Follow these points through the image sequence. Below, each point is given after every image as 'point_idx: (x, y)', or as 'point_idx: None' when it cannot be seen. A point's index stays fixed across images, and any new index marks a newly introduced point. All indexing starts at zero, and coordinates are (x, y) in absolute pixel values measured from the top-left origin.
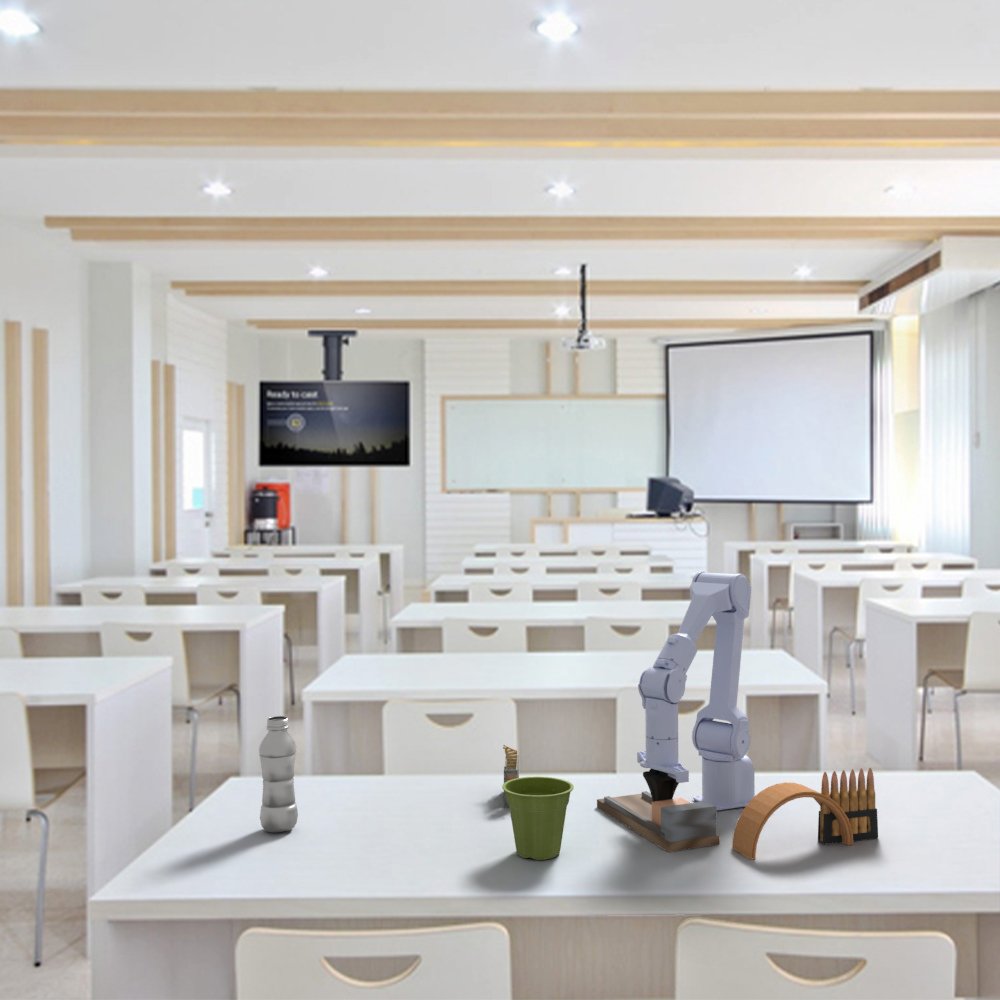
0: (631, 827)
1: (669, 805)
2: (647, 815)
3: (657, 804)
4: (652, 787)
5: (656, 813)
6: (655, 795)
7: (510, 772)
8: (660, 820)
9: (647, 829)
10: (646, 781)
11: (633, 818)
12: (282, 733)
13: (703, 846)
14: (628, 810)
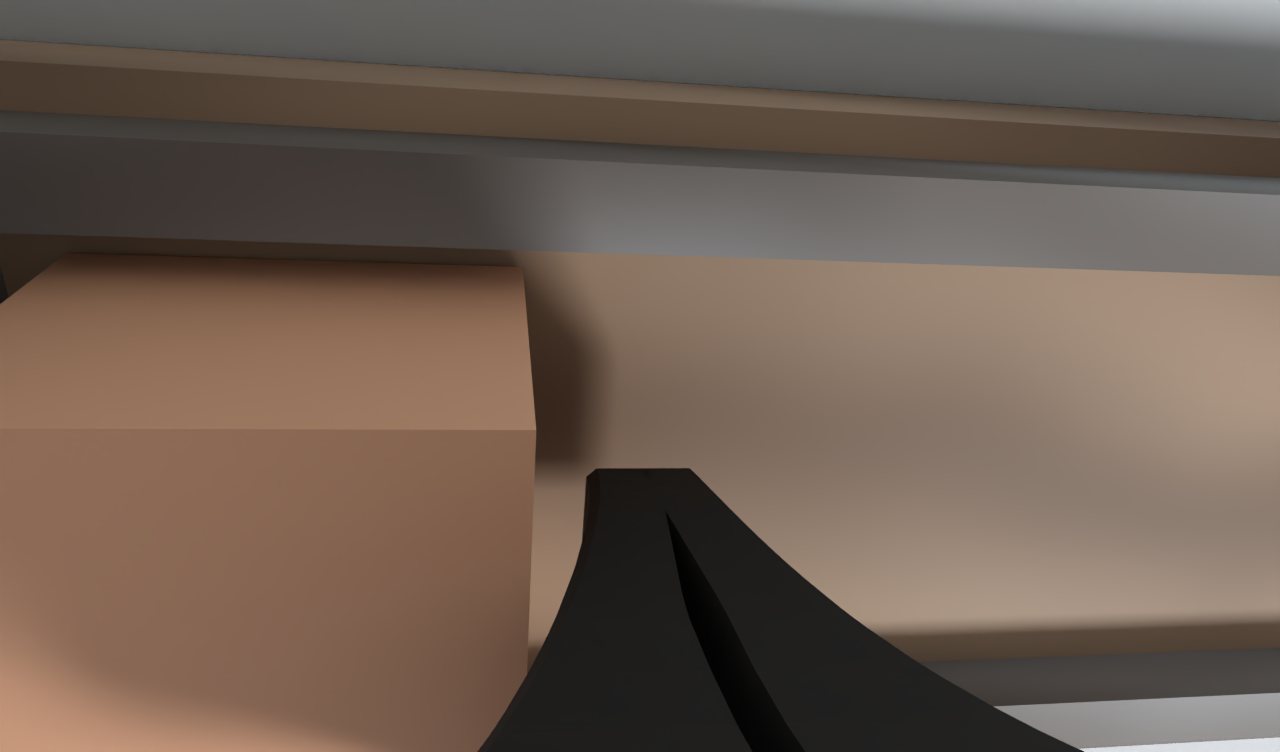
0: (808, 95)
1: (176, 621)
2: (883, 415)
3: (322, 454)
4: (766, 708)
5: (344, 349)
6: (646, 616)
7: None
8: (218, 314)
9: (380, 109)
10: (1041, 742)
11: (852, 161)
12: None
13: None
14: (1058, 206)
